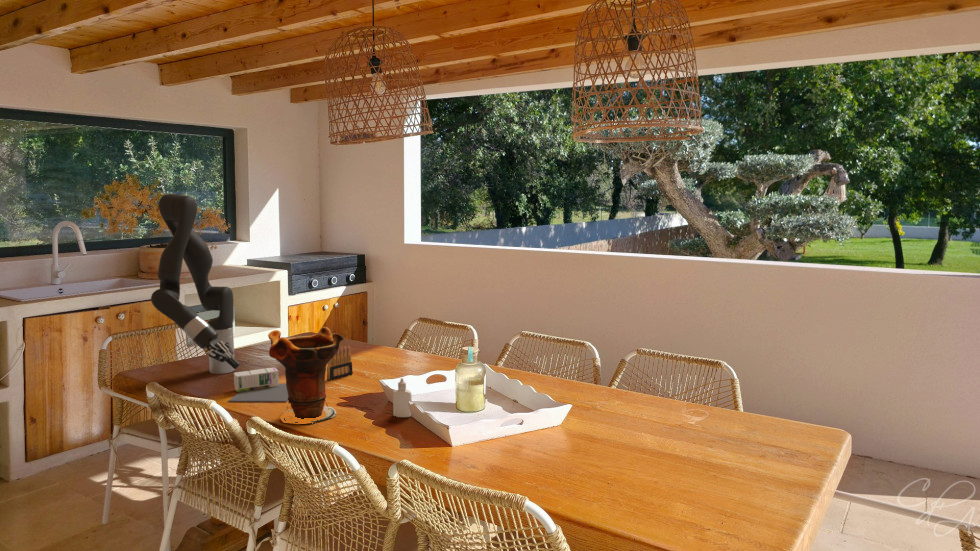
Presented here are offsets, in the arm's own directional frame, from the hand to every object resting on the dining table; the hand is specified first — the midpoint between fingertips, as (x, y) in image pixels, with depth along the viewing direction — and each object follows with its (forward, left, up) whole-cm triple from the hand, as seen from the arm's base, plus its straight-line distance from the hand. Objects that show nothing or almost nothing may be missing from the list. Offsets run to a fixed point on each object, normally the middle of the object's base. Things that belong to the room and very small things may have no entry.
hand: (237, 366), depth 234 cm
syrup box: (-2, -2, -6) cm, 7 cm away
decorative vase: (+23, +30, -10) cm, 39 cm away
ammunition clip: (-20, +30, -10) cm, 38 cm away
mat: (0, +10, -9) cm, 14 cm away
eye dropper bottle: (+23, +60, -10) cm, 65 cm away
